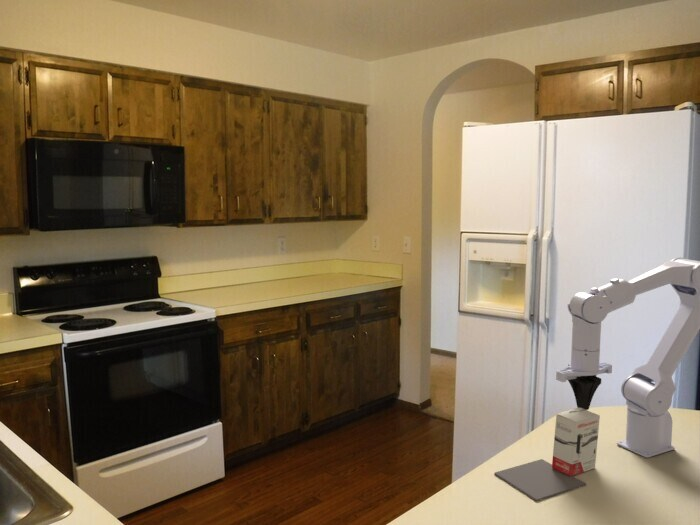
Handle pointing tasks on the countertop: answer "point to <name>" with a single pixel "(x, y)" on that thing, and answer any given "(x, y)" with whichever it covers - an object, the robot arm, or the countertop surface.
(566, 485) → the mat
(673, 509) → the countertop surface
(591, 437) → the ink box
